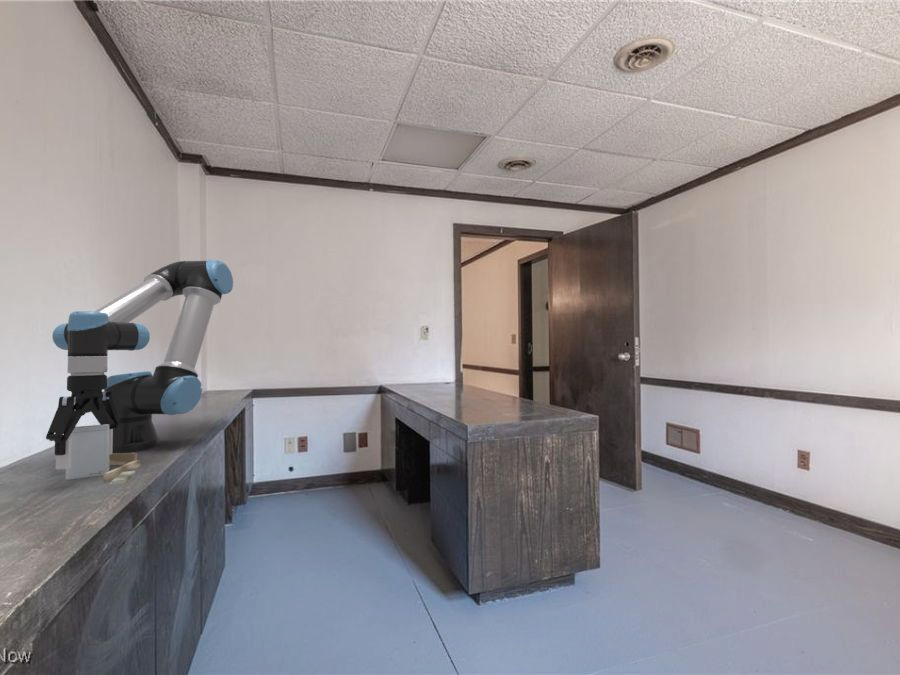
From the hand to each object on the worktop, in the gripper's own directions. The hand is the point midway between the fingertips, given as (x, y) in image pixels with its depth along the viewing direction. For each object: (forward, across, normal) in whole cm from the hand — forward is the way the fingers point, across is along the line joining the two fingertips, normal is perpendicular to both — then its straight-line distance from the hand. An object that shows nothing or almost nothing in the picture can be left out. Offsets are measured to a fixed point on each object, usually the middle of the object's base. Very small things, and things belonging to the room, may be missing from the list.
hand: (85, 461), depth 104 cm
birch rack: (+4, -1, 0) cm, 4 cm away
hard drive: (+4, -1, 0) cm, 4 cm away
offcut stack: (+4, +2, +10) cm, 12 cm away
